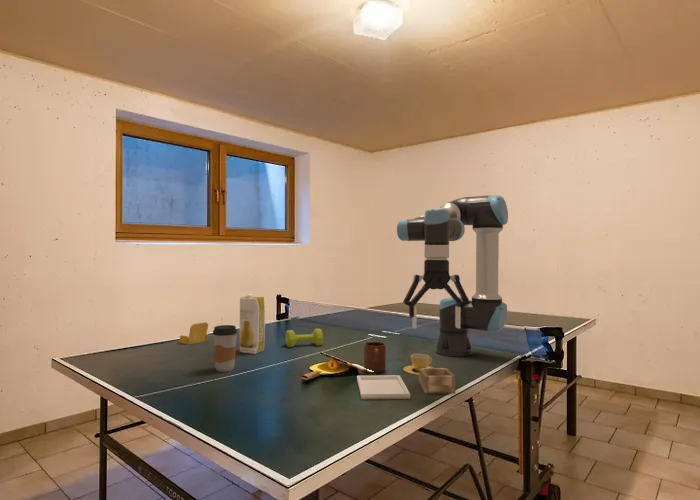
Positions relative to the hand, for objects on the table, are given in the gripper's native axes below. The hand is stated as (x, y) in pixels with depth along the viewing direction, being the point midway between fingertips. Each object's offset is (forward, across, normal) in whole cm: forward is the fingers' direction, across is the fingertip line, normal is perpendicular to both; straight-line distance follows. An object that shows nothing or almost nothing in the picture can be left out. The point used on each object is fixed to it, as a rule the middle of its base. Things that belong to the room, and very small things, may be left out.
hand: (436, 327), depth 132 cm
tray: (+19, +17, 0) cm, 25 cm away
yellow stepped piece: (+19, +94, -69) cm, 118 cm away
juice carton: (+19, +65, -49) cm, 83 cm away
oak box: (+19, 0, 0) cm, 19 cm away
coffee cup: (+19, +70, -23) cm, 76 cm away
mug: (+19, +17, -18) cm, 31 cm away
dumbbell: (+19, +44, -60) cm, 77 cm away
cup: (+19, 0, -20) cm, 28 cm away
